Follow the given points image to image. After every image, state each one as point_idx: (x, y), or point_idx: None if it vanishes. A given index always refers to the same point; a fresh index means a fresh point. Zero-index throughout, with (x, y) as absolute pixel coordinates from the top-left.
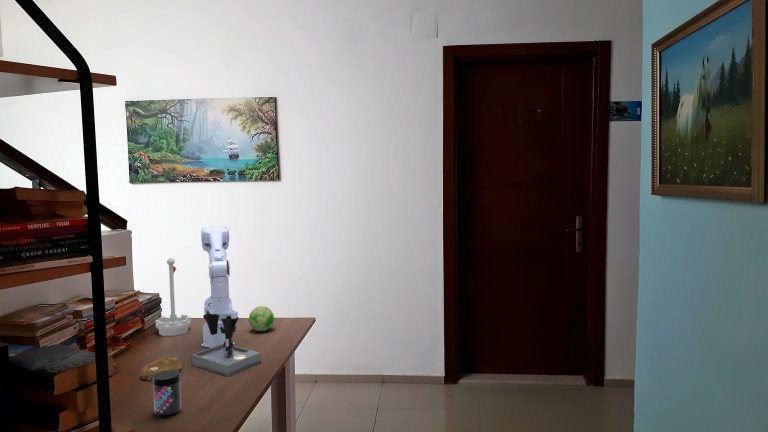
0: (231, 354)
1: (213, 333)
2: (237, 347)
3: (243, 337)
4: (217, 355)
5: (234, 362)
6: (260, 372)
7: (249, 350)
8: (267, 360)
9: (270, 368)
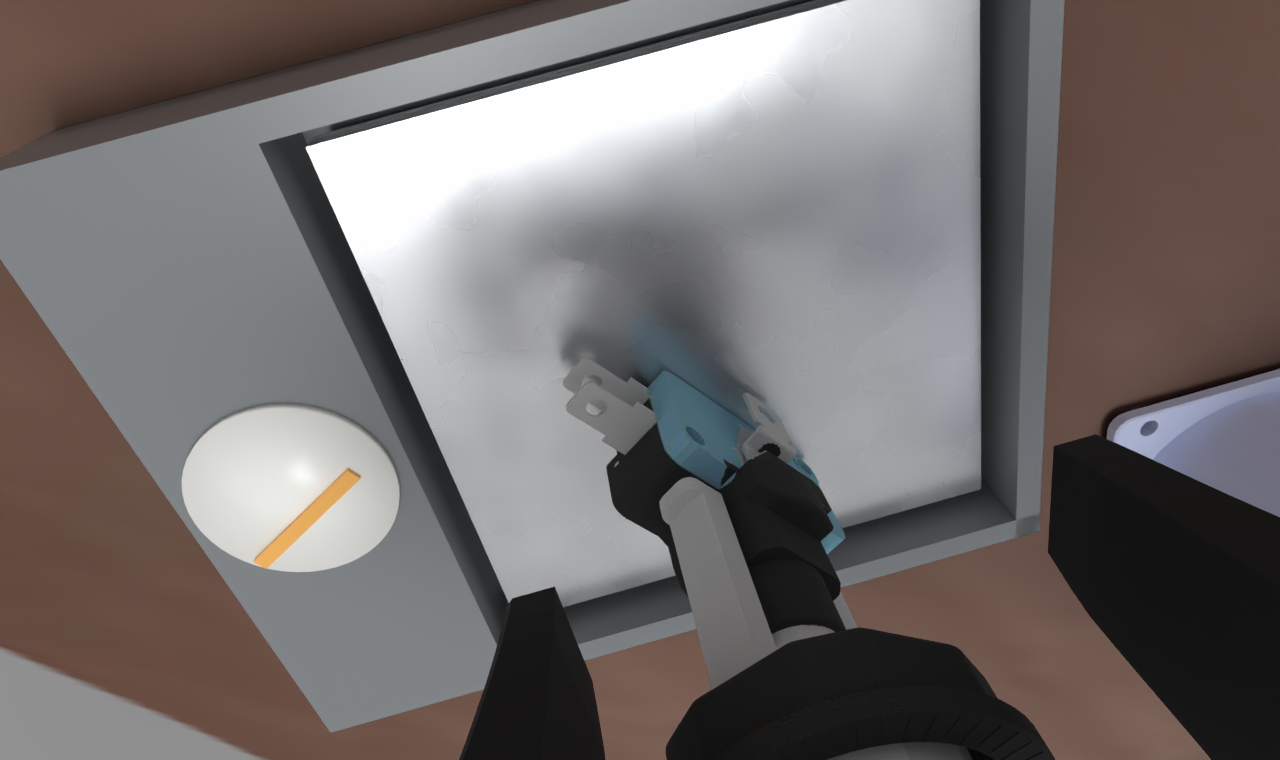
0: None
1: (1071, 497)
2: None
3: None
4: (750, 294)
5: (89, 353)
6: (6, 527)
7: None
8: None
9: (96, 643)
